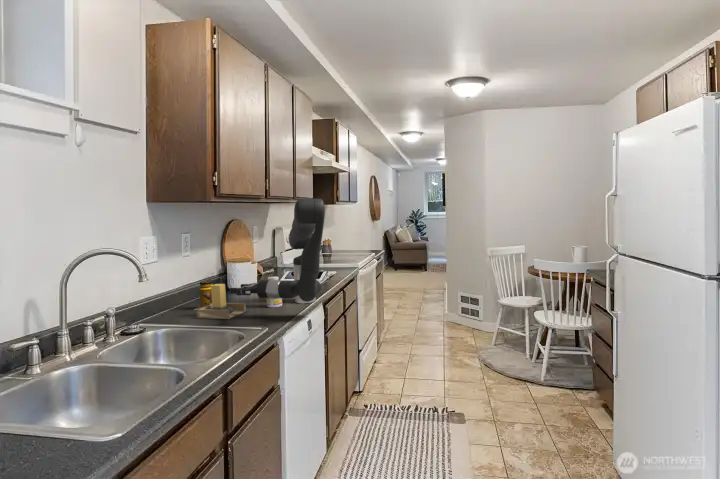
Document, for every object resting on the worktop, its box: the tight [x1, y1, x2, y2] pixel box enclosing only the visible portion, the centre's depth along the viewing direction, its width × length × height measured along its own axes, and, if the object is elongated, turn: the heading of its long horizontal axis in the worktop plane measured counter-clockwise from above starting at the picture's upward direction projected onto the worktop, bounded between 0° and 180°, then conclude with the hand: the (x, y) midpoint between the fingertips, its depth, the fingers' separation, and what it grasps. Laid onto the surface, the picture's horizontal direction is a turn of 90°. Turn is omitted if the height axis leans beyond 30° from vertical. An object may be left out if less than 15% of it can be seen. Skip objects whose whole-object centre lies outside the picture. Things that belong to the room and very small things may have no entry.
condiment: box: [194, 280, 213, 311], centre depth 213 cm, size 7×8×12 cm
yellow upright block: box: [211, 283, 227, 310], centre depth 199 cm, size 4×4×12 cm
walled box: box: [196, 302, 247, 320], centre depth 199 cm, size 14×14×4 cm
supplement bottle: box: [266, 276, 283, 309], centre depth 212 cm, size 7×7×13 cm
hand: (235, 288), depth 197 cm, fingers open, 8 cm apart
